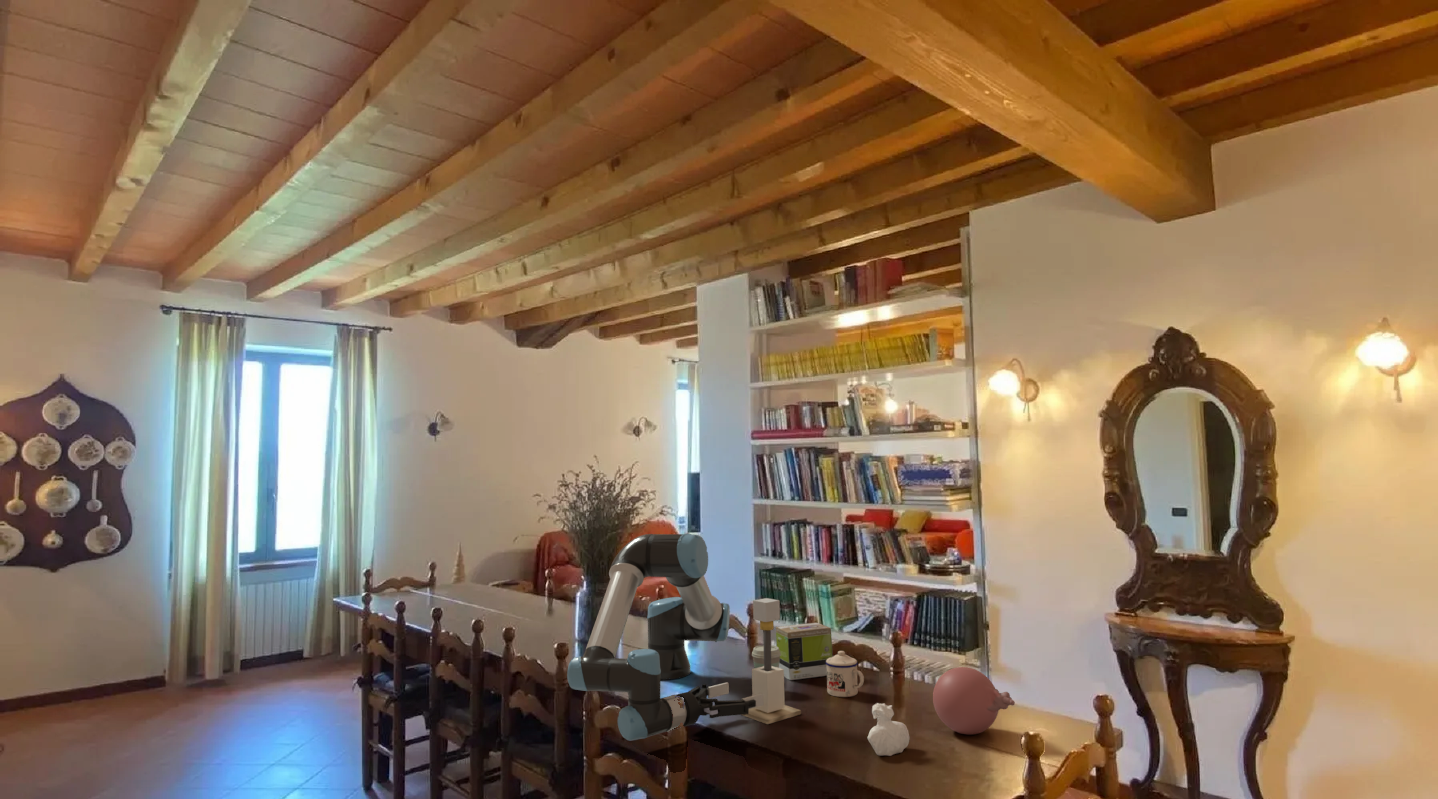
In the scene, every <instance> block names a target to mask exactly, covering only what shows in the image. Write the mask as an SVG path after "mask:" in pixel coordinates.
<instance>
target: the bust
mask: <svg viewBox="0 0 1438 799" xmlns="http://www.w3.org/2000/svg"><path fill="white" fill-rule="evenodd" d="M871 707H872V708H871V714H872V717H873V719H874V720H875V719H877V720H876V722H877V723H876V725H874V726H873V727H872V728H871V729H870V730H869V733H868V736H867V740H868V742H869V743H870V745H871V747H872V749H873V750H874V752H875V754H876V755H877V756H881V757H882V756H888V757H891V756H893V755H895V754H896V755H897V754H899V753H903V751H904V749H906V748H907V747H908V745H909V743H910V734H909V731H910V730H909V729H908V728H907V725H906V724H904V722H900V721H895V720H892V719H893V717H894V715H895V712H894V710H893V704H892V705H887V704H886V703H880V702H876V703H875V704H873V705H872V706H871Z"/></svg>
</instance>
